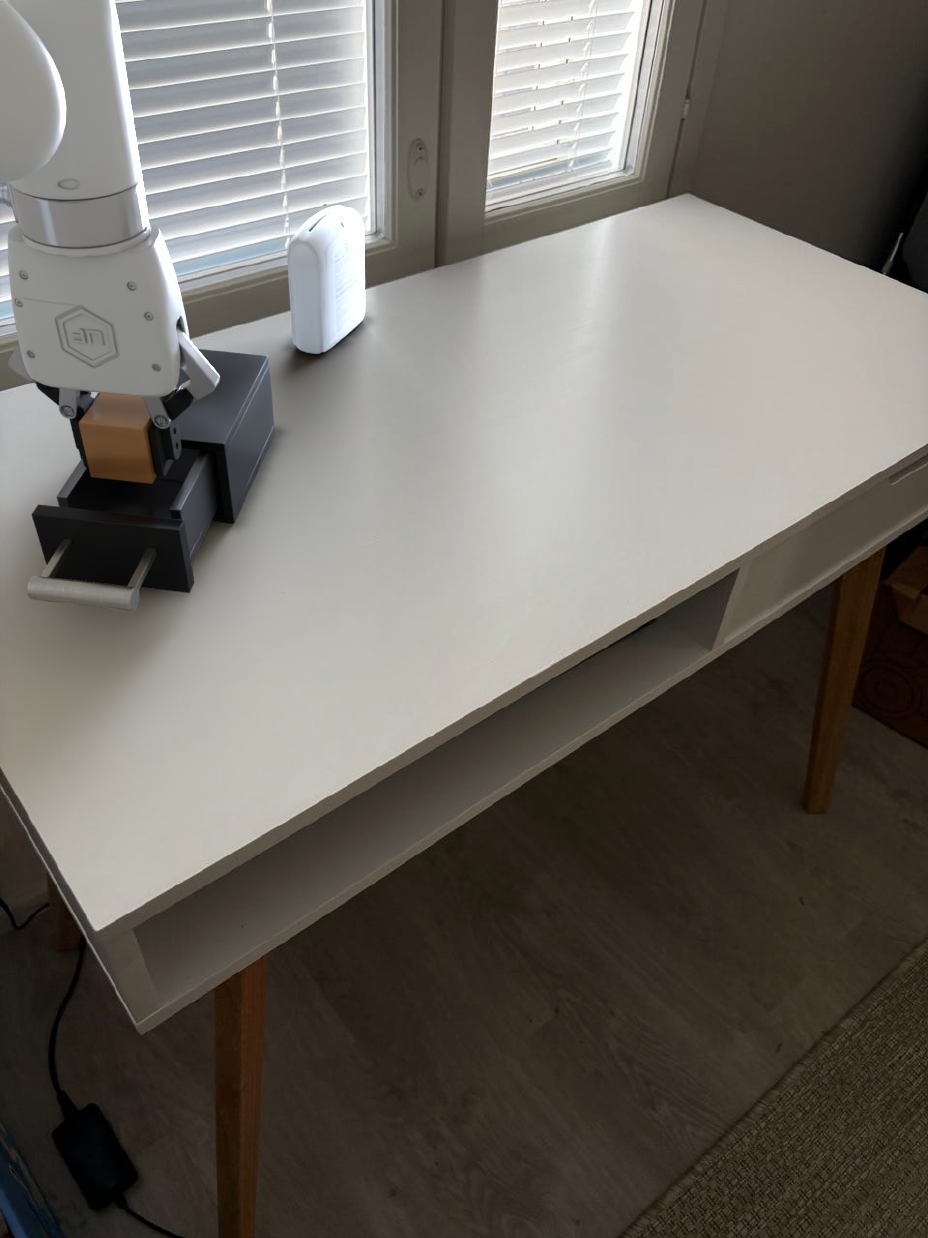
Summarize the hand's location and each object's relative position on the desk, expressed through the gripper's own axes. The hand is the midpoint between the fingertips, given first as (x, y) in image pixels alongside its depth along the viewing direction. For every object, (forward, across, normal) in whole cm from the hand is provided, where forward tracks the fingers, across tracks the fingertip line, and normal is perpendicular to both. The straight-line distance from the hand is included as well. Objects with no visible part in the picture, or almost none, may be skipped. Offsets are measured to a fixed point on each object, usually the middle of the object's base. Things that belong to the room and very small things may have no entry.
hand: (131, 459), depth 73 cm
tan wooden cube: (0, 0, 0) cm, 0 cm away
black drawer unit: (+8, 0, +10) cm, 13 cm away
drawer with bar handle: (+7, 0, -3) cm, 7 cm away
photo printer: (+8, +7, +36) cm, 38 cm away
